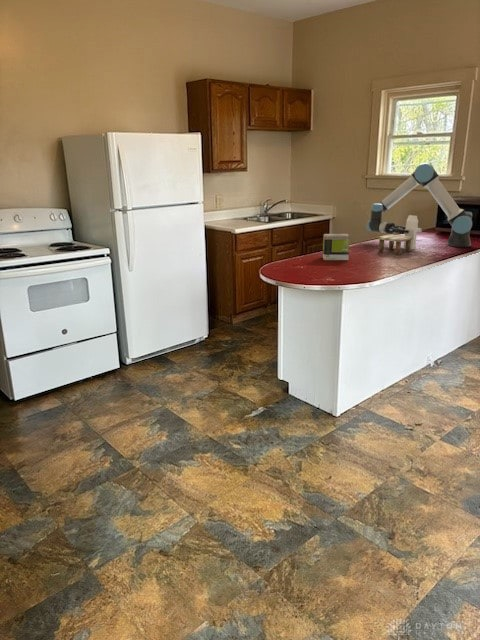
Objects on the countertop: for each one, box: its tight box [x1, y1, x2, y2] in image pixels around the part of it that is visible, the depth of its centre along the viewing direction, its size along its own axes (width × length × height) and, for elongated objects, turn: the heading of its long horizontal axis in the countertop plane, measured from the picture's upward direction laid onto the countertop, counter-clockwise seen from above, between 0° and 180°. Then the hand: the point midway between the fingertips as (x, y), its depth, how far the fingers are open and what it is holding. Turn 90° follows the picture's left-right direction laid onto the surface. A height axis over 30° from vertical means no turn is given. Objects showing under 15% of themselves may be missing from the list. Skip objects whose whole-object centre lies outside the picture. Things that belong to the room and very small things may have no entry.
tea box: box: [322, 233, 351, 261], centre depth 299 cm, size 15×10×15 cm, turn 84°
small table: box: [377, 233, 413, 256], centre depth 319 cm, size 16×16×10 cm
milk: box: [403, 214, 419, 251], centre depth 329 cm, size 6×6×22 cm
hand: (417, 231), depth 326 cm, fingers open, 9 cm apart
